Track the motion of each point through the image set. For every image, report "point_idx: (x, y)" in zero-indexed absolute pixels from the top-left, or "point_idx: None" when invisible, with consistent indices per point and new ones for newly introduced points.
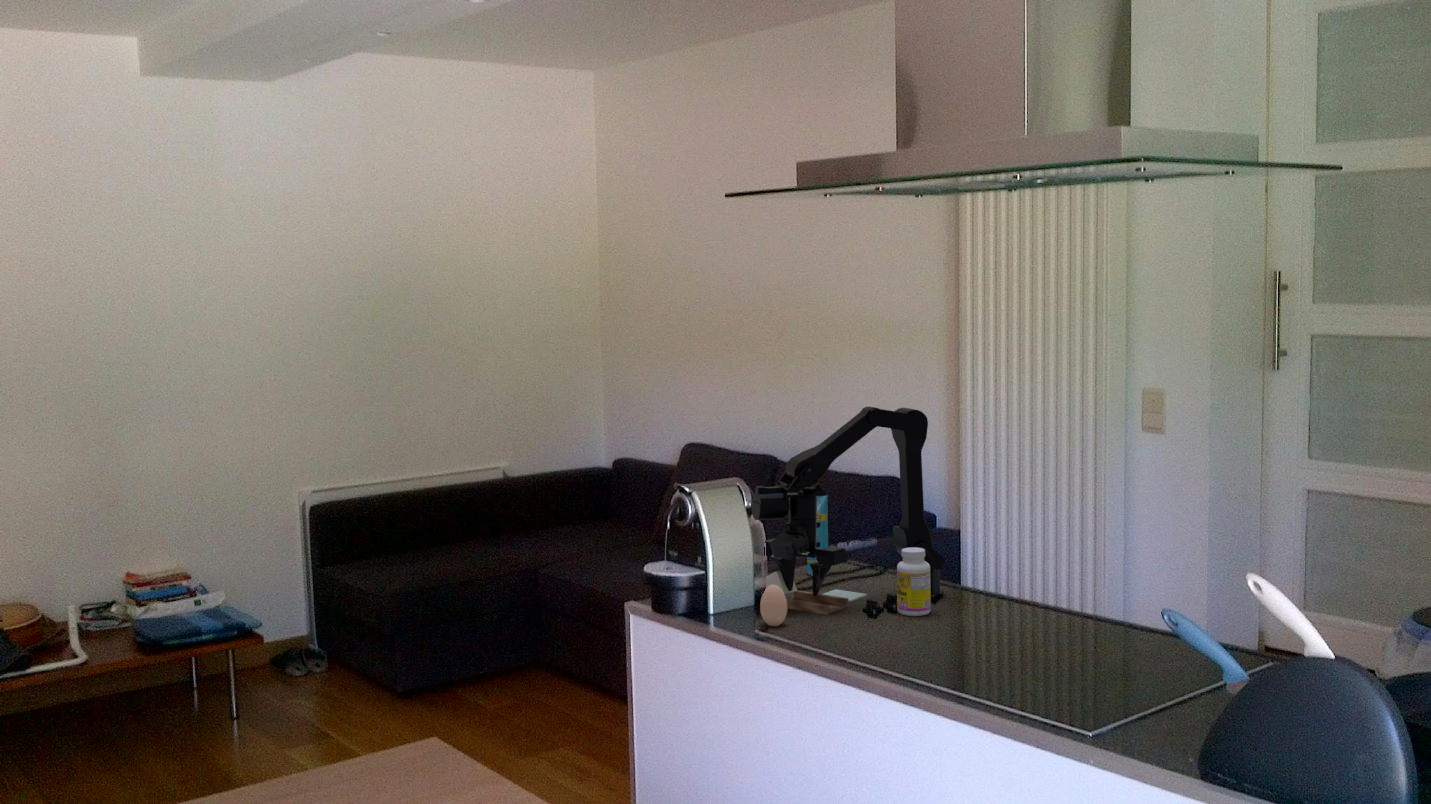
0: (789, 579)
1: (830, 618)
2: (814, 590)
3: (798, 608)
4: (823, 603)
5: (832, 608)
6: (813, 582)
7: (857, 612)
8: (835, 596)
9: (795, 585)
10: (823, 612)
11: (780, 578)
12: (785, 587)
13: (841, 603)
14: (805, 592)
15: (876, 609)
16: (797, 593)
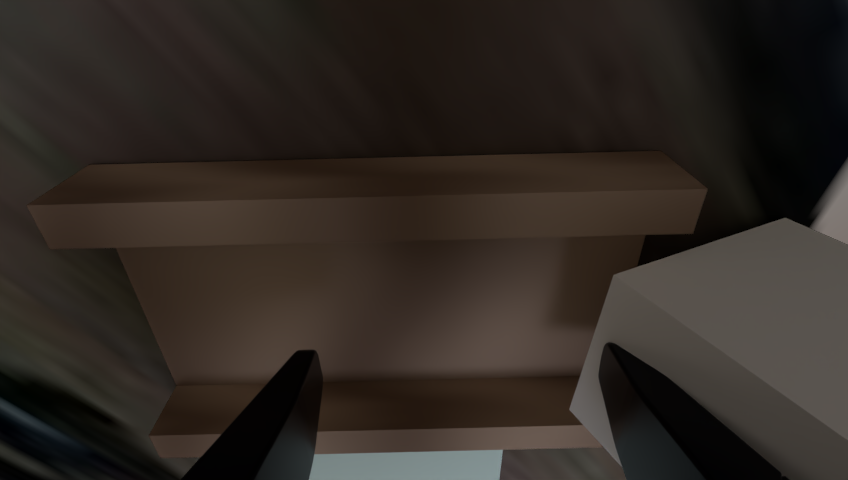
0: (658, 459)
1: (3, 129)
2: (275, 384)
3: (389, 169)
4: (359, 383)
5: (215, 329)
6: (241, 461)
7: (57, 358)
8: None
9: (604, 447)
10: (100, 174)
11: (782, 422)
12: (654, 350)
13: (201, 403)
14: (527, 433)
15: (56, 445)
16: None
